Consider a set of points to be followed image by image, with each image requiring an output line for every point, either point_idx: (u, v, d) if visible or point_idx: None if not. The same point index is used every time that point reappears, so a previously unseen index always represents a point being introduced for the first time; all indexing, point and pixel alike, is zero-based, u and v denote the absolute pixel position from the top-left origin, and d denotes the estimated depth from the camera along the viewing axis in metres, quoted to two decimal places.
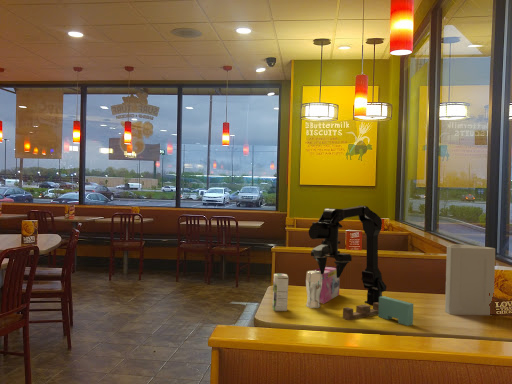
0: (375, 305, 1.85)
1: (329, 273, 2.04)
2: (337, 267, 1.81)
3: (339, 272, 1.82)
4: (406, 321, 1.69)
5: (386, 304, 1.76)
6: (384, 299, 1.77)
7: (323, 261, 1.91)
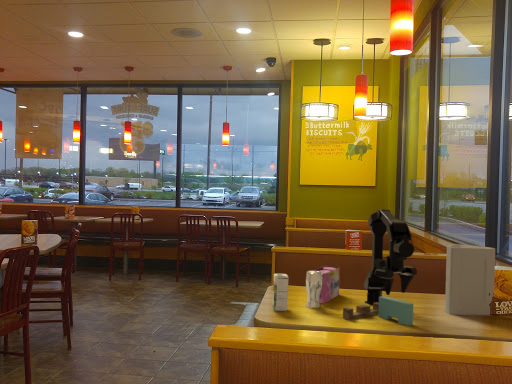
0: (375, 305, 1.85)
1: (329, 273, 2.04)
2: None
3: (386, 289, 1.72)
4: (406, 321, 1.69)
5: (386, 304, 1.76)
6: (384, 299, 1.77)
7: (405, 280, 1.77)
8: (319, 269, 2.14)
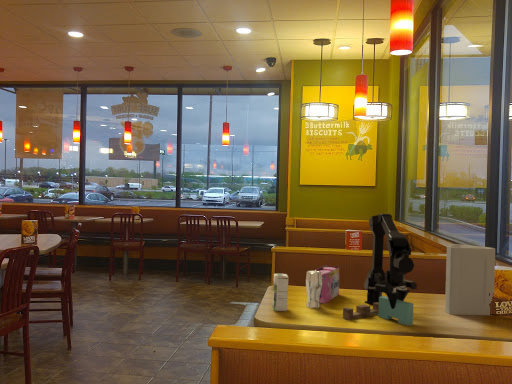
0: (375, 305, 1.85)
1: (330, 273, 2.04)
2: None
3: (391, 303, 1.73)
4: (406, 321, 1.69)
5: (386, 304, 1.76)
6: (384, 299, 1.77)
7: (401, 295, 1.75)
8: (319, 269, 2.14)
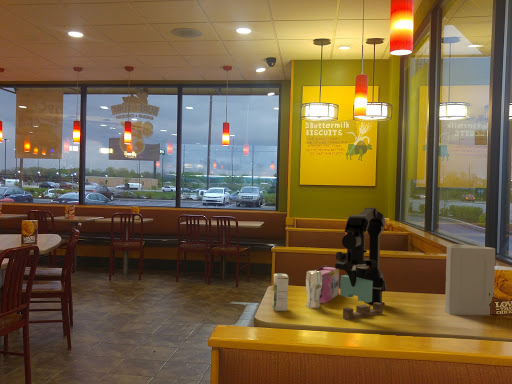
0: (375, 305, 1.85)
1: (330, 273, 2.04)
2: None
3: (351, 280, 1.76)
4: (365, 298, 1.71)
5: (347, 282, 1.79)
6: (345, 277, 1.80)
7: (361, 273, 1.78)
8: (319, 269, 2.14)
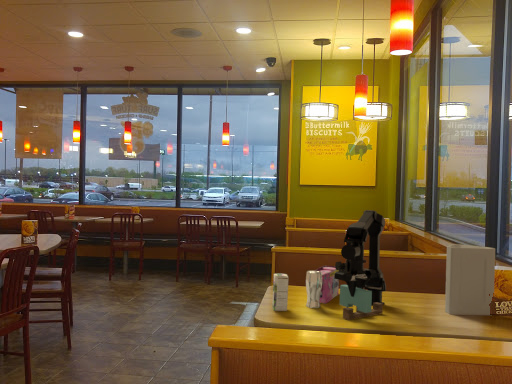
0: (375, 305, 1.85)
1: (330, 273, 2.04)
2: None
3: (350, 290, 1.76)
4: (364, 308, 1.72)
5: (347, 292, 1.79)
6: (345, 287, 1.80)
7: (360, 283, 1.78)
8: (319, 269, 2.14)
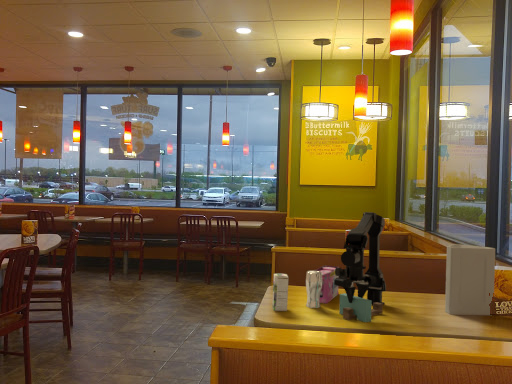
0: (375, 305, 1.85)
1: (331, 273, 2.04)
2: None
3: (348, 297, 1.76)
4: (364, 318, 1.71)
5: (347, 301, 1.79)
6: (344, 296, 1.80)
7: (362, 289, 1.78)
8: (319, 269, 2.14)
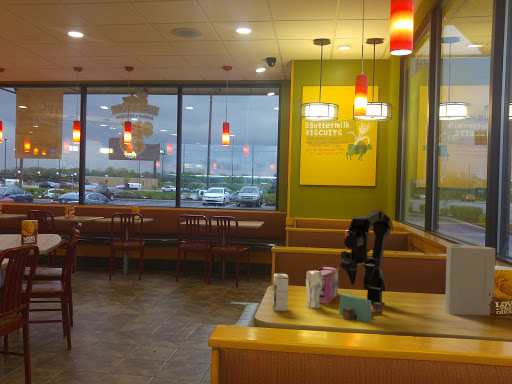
0: (375, 305, 1.85)
1: (332, 273, 2.04)
2: None
3: (350, 279, 1.85)
4: (364, 318, 1.71)
5: (347, 301, 1.79)
6: (344, 296, 1.80)
7: (369, 270, 1.90)
8: (319, 269, 2.14)
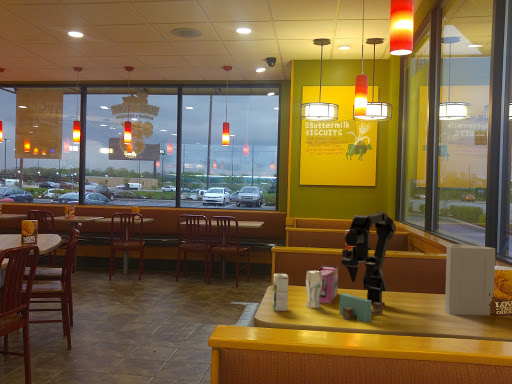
0: (375, 305, 1.85)
1: (333, 273, 2.04)
2: None
3: (351, 276, 1.88)
4: (364, 318, 1.71)
5: (347, 301, 1.79)
6: (344, 296, 1.80)
7: (370, 268, 1.93)
8: (319, 269, 2.14)
